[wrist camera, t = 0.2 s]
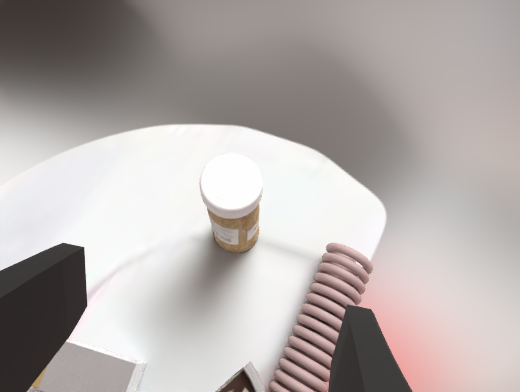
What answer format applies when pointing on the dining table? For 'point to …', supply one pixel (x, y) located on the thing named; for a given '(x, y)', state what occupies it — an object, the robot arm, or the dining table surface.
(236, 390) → the food container
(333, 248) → the coil
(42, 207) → the dining table surface
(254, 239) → the sprinkles bottle
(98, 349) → the white yellow block
